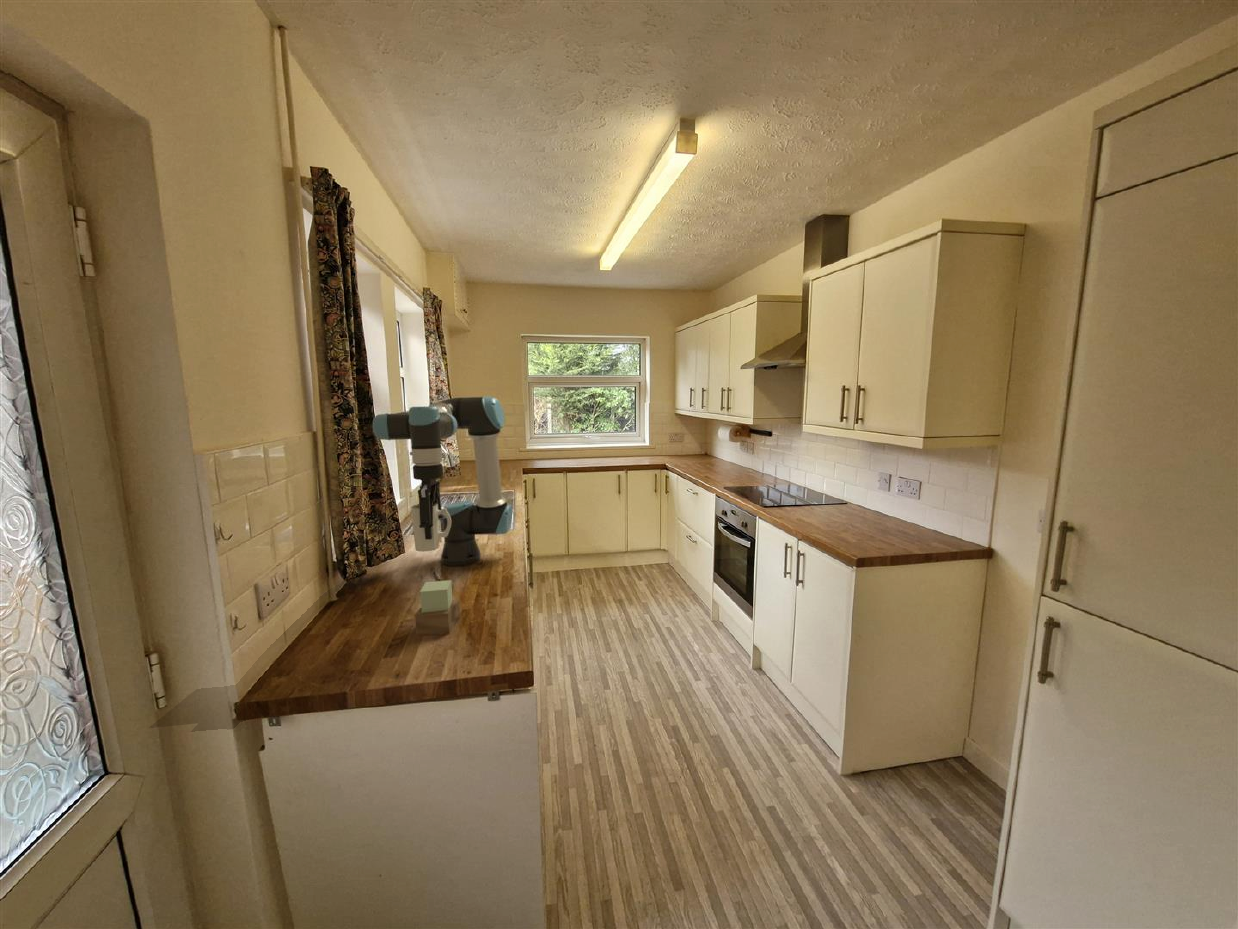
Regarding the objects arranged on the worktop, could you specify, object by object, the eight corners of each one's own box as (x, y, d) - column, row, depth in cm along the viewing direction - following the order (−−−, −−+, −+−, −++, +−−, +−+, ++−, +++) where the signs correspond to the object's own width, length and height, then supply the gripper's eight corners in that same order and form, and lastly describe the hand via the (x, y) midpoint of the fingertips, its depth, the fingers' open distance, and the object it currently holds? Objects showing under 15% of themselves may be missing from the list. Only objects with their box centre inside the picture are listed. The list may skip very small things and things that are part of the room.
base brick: (429, 619, 138) (427, 600, 137) (460, 619, 138) (458, 599, 137) (416, 635, 129) (414, 614, 128) (449, 634, 129) (448, 613, 128)
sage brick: (427, 602, 136) (425, 582, 135) (452, 600, 137) (451, 580, 136) (421, 612, 129) (420, 591, 128) (448, 610, 130) (447, 589, 129)
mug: (412, 553, 127) (408, 509, 125) (416, 545, 133) (413, 504, 132) (451, 549, 129) (448, 506, 127) (454, 542, 136) (451, 501, 134)
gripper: (422, 459, 137) (428, 537, 140) (402, 469, 118) (409, 558, 121) (449, 459, 138) (454, 535, 141) (433, 468, 119) (439, 556, 122)
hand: (433, 546), depth 131 cm, fingers closed on mug, 6 cm apart
